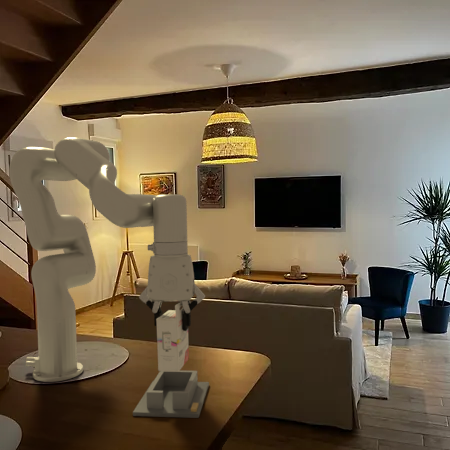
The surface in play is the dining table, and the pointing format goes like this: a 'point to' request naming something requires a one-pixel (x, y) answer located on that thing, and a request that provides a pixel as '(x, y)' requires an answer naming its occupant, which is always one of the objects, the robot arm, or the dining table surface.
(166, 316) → the ink cartridge box
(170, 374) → the grey box holder
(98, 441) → the dining table surface
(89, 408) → the dining table surface
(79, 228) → the robot arm
